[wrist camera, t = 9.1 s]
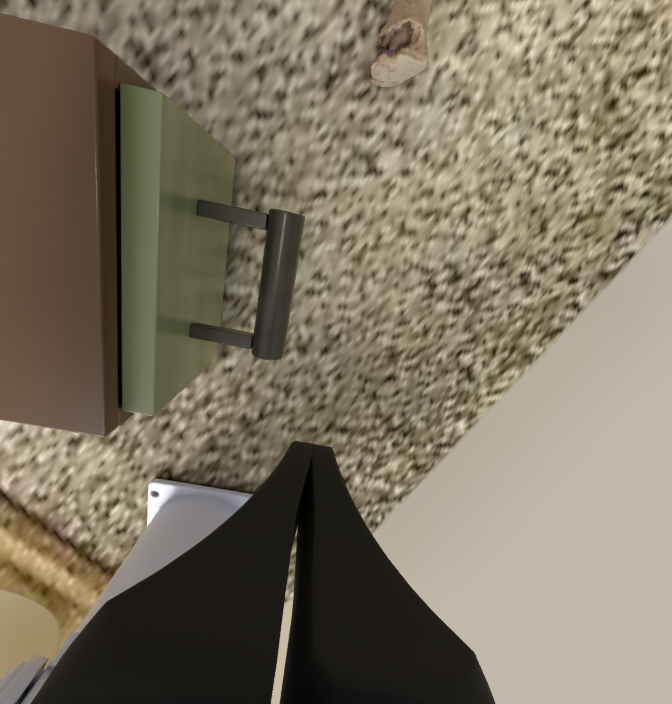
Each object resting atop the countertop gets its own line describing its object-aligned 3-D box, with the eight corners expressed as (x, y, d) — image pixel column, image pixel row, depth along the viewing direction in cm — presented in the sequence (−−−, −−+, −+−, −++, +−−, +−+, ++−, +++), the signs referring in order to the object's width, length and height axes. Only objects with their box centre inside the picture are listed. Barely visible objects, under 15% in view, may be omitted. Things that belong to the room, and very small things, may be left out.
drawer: (320, 176, 16) (307, 125, 9) (288, 371, 19) (261, 435, 12) (-35, 97, 15) (-328, -22, 8) (-7, 316, 18) (-203, 354, 11)
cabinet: (219, 143, 16) (94, 34, 8) (202, 358, 20) (104, 438, 11) (-67, 79, 15) (-533, -115, 7) (-31, 315, 19) (-315, 367, 11)
